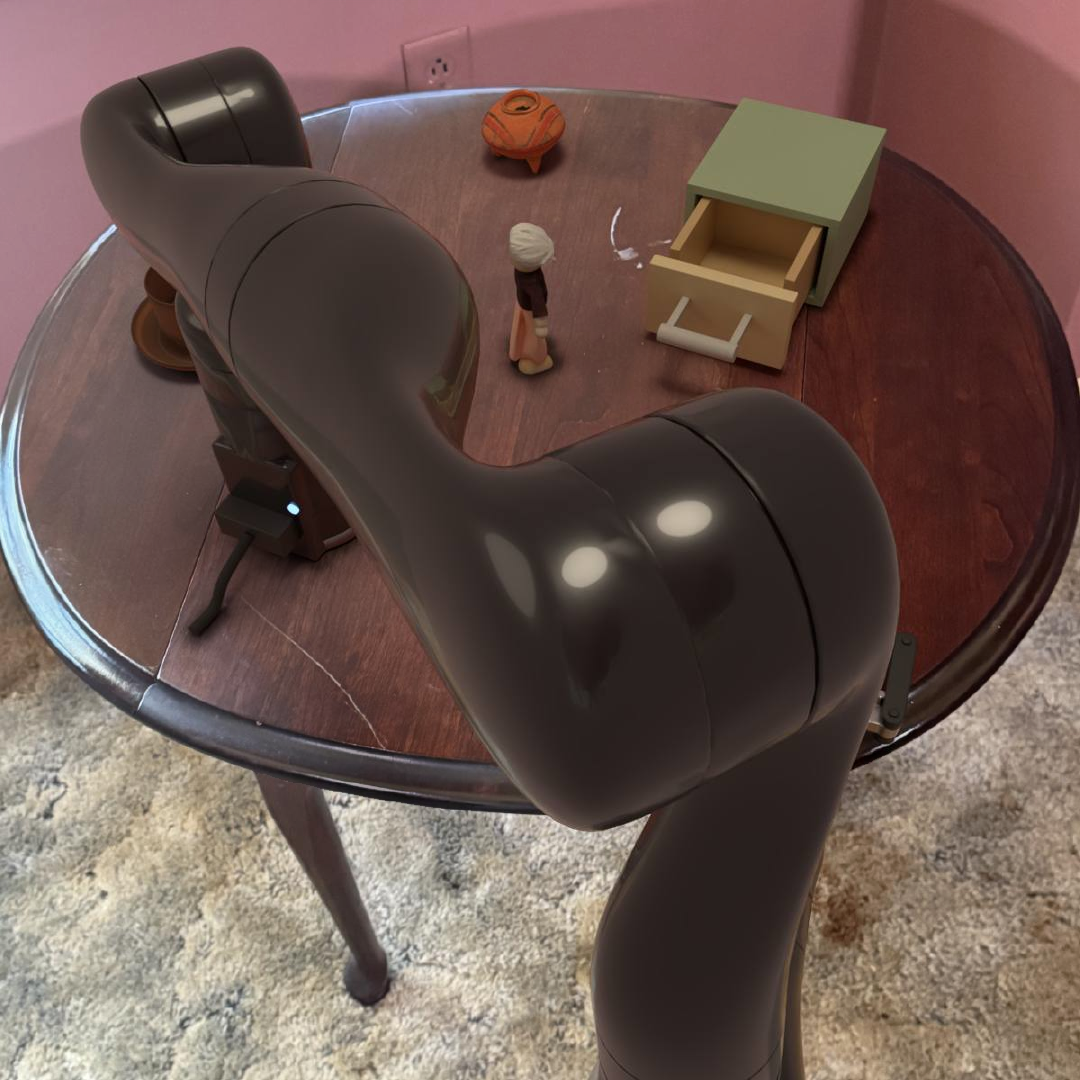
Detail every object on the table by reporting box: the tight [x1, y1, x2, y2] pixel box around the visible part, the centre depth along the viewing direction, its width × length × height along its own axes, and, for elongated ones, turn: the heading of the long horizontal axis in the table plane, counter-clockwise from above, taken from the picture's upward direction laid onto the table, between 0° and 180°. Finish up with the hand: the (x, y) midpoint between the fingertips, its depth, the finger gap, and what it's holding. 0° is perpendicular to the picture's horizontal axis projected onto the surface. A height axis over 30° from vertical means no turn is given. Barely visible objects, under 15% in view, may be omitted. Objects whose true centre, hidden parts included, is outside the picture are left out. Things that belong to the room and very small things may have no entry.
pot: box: [481, 88, 567, 174], centre depth 105 cm, size 8×8×7 cm
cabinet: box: [683, 97, 888, 308], centre depth 94 cm, size 14×13×9 cm
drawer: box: [645, 196, 829, 370], centre depth 88 cm, size 17×11×7 cm, turn 154°
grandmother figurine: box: [508, 222, 555, 375], centre depth 85 cm, size 8×4×13 cm, turn 21°
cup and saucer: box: [130, 265, 196, 372], centre depth 90 cm, size 12×12×6 cm
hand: (797, 559), depth 67 cm, fingers open, 8 cm apart
